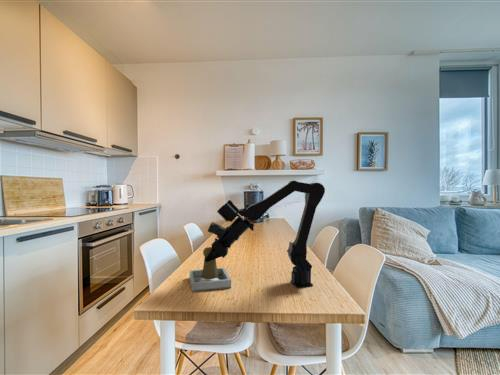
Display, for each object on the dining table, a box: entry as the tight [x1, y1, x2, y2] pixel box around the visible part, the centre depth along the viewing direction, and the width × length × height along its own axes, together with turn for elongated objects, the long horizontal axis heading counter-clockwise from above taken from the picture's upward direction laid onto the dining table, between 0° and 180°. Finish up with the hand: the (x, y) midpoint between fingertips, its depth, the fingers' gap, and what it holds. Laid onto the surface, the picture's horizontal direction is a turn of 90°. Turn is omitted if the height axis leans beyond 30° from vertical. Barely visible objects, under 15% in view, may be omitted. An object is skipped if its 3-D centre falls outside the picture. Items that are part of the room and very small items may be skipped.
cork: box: [202, 246, 218, 279], centre depth 95 cm, size 6×6×11 cm
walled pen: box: [189, 267, 232, 293], centre depth 95 cm, size 14×14×3 cm
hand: (206, 259), depth 95 cm, fingers closed on cork, 5 cm apart
